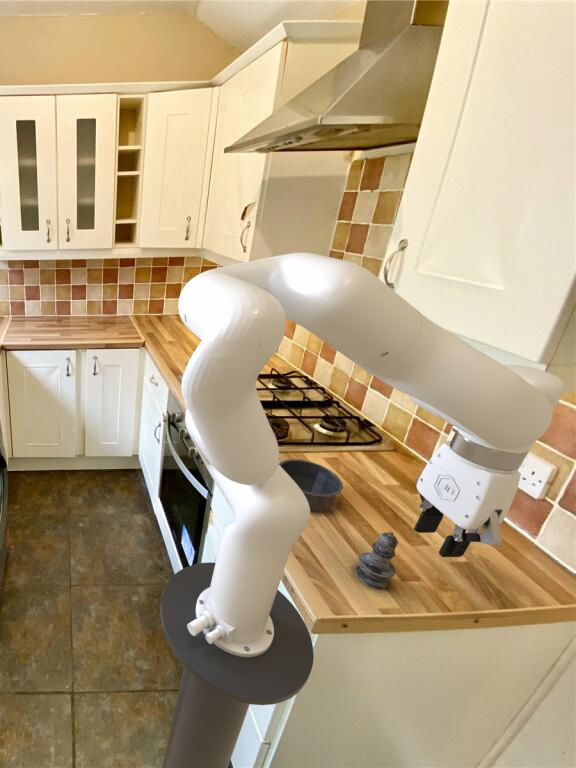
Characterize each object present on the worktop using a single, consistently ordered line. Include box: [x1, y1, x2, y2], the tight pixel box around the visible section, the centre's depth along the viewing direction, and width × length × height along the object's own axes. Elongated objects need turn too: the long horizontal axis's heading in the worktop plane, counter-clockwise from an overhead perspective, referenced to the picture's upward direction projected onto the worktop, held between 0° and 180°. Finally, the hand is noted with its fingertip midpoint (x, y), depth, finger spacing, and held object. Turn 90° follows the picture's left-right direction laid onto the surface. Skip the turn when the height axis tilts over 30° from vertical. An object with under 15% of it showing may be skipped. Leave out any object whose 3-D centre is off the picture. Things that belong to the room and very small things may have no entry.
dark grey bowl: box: [278, 458, 344, 514], centre depth 103 cm, size 14×14×5 cm
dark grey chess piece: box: [354, 531, 399, 590], centre depth 78 cm, size 6×6×12 cm
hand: (436, 542), depth 67 cm, fingers open, 4 cm apart
